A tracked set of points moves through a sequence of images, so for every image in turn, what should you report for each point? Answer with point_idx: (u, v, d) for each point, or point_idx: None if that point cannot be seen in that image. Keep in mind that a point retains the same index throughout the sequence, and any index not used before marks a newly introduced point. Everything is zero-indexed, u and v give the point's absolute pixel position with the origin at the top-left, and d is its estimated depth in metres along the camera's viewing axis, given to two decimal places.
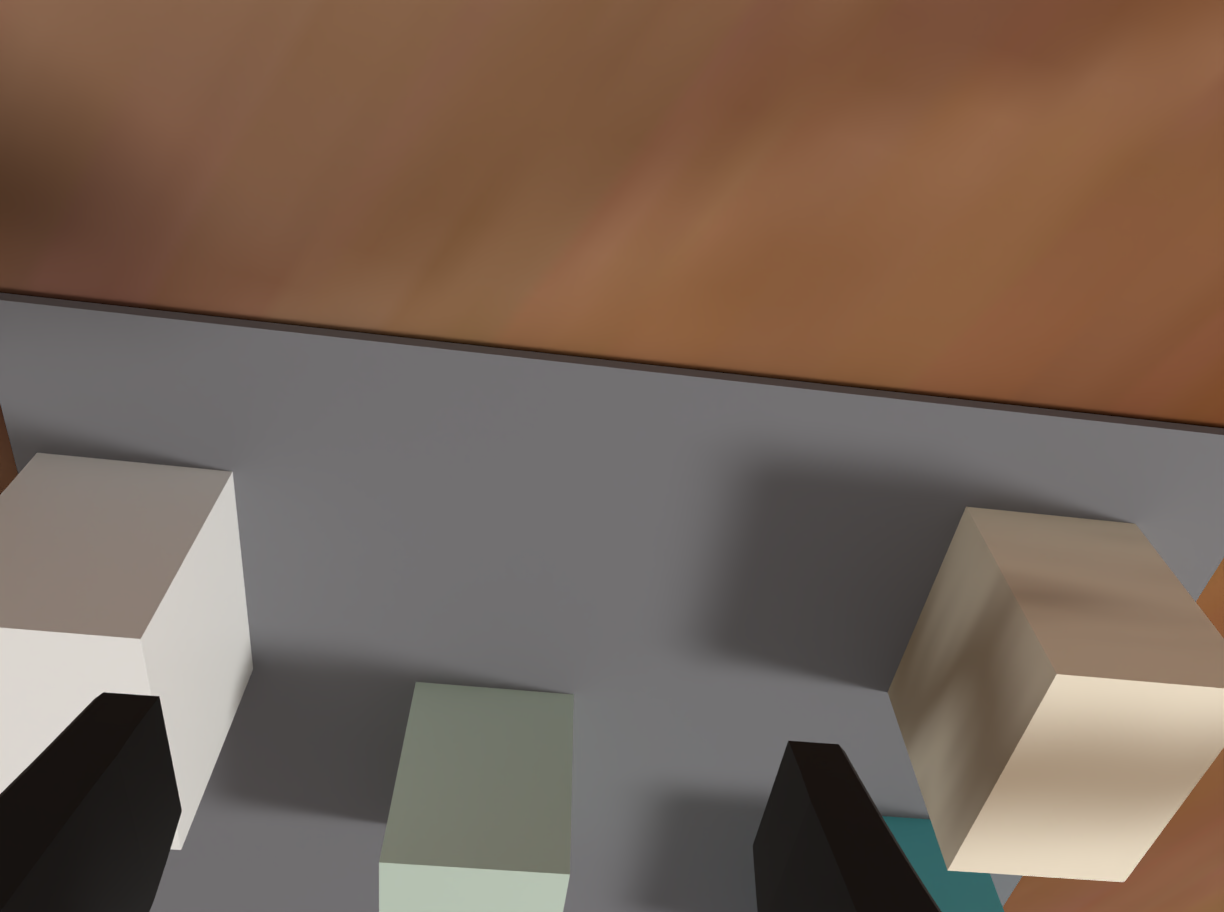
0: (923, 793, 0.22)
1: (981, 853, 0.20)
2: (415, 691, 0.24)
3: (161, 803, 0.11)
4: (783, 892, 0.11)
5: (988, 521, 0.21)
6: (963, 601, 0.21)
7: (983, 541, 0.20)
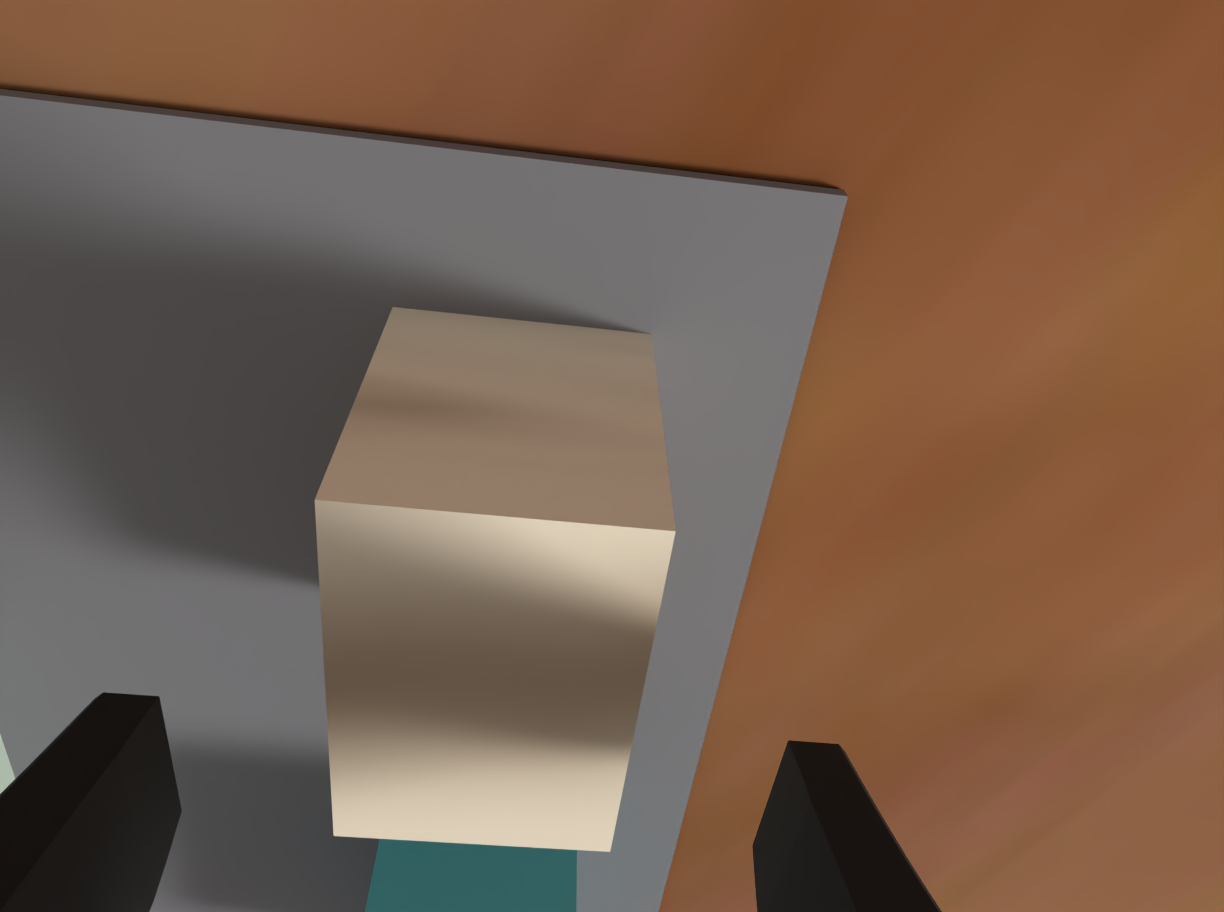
0: None
1: (369, 809, 0.13)
2: None
3: (161, 803, 0.11)
4: (783, 892, 0.11)
5: (410, 322, 0.14)
6: None
7: None
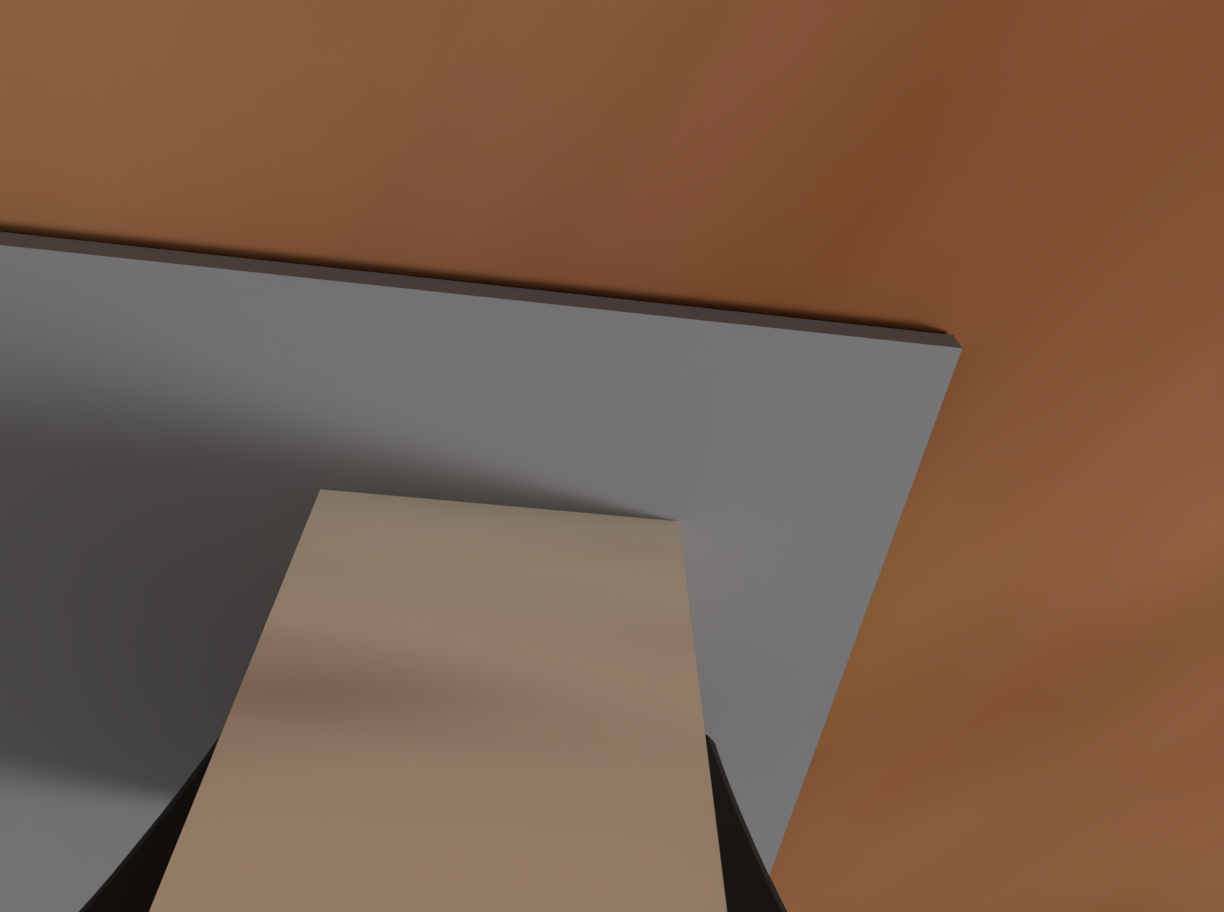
0: None
1: None
2: None
3: None
4: None
5: (342, 518, 0.10)
6: None
7: (291, 562, 0.10)
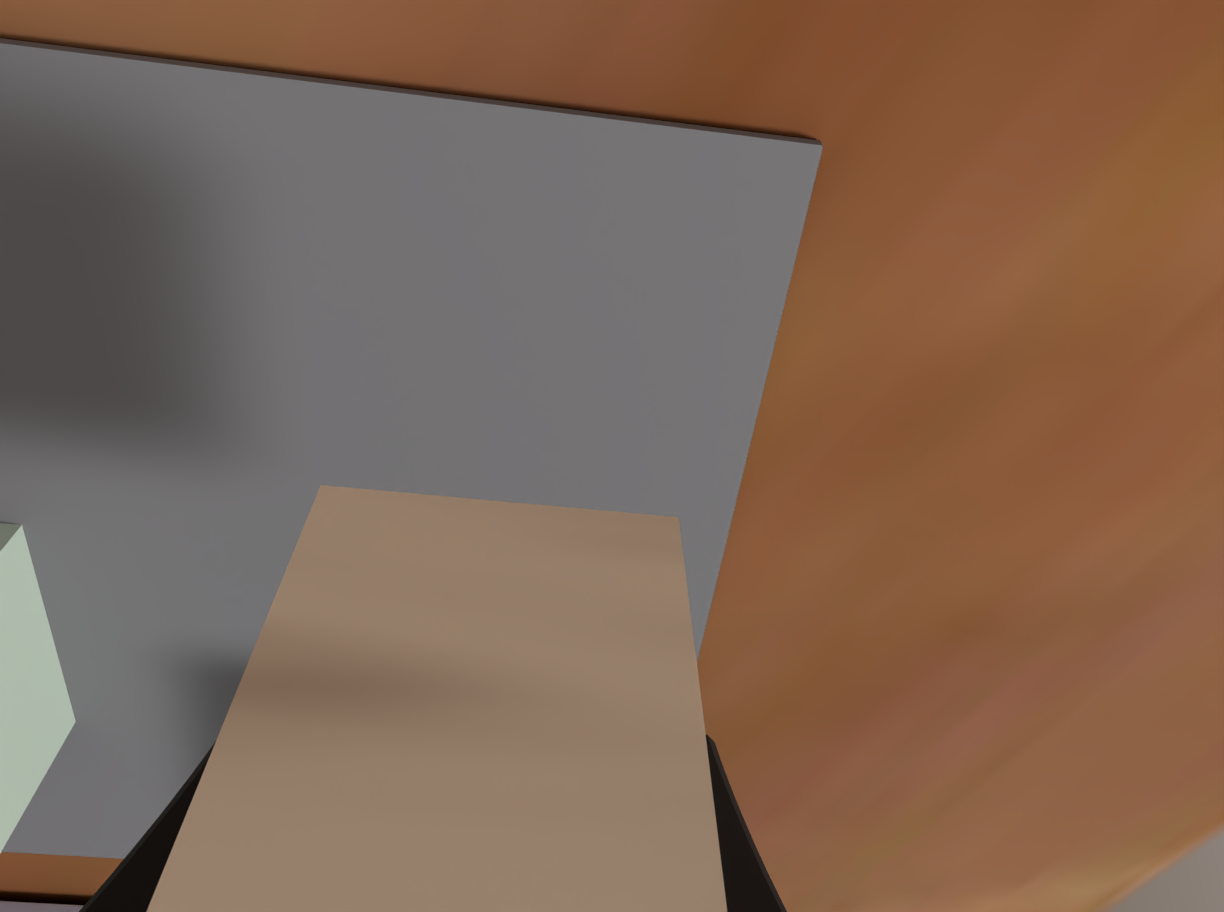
0: None
1: None
2: None
3: None
4: None
5: (342, 514, 0.10)
6: None
7: (292, 555, 0.10)
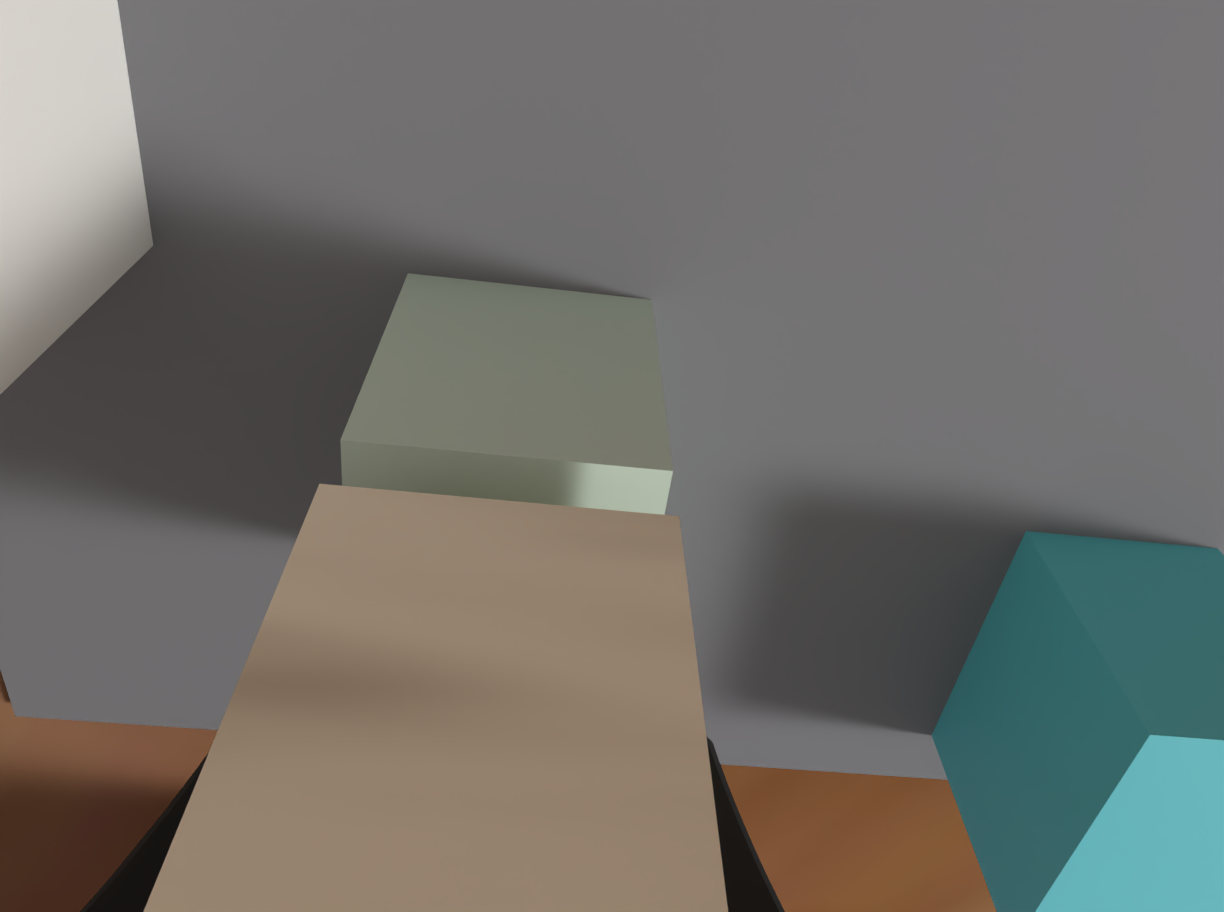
0: None
1: None
2: (407, 281, 0.15)
3: None
4: None
5: (341, 513, 0.10)
6: None
7: (291, 556, 0.10)
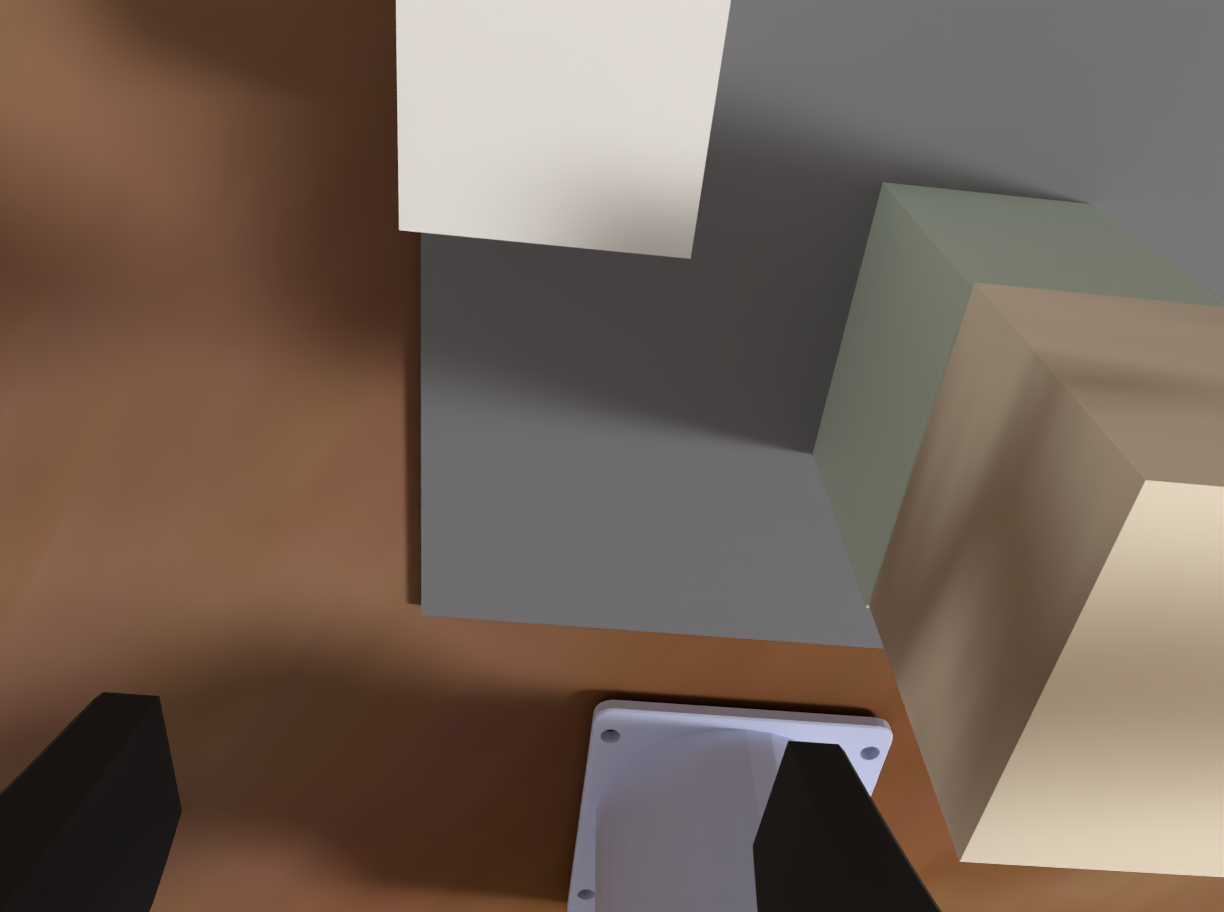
0: (920, 743, 0.14)
1: (1015, 831, 0.12)
2: (889, 187, 0.17)
3: (161, 803, 0.11)
4: (783, 892, 0.11)
5: (1011, 298, 0.13)
6: (974, 427, 0.13)
7: (1004, 319, 0.12)
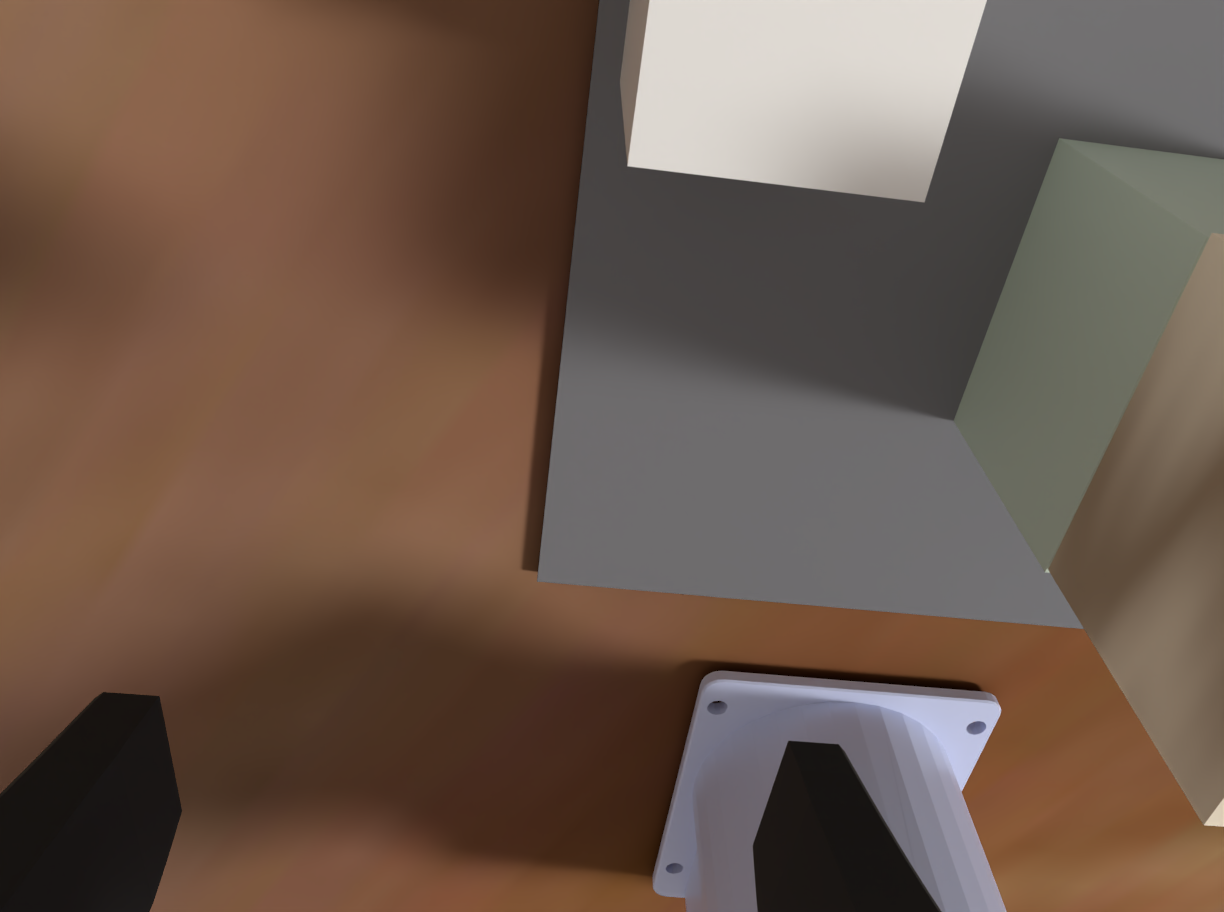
0: (1136, 706, 0.14)
1: None
2: (1068, 143, 0.17)
3: (161, 803, 0.11)
4: (783, 892, 0.11)
5: None
6: (1215, 381, 0.13)
7: None
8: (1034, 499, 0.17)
